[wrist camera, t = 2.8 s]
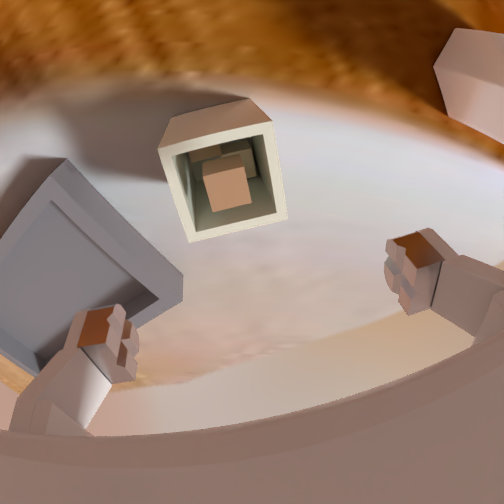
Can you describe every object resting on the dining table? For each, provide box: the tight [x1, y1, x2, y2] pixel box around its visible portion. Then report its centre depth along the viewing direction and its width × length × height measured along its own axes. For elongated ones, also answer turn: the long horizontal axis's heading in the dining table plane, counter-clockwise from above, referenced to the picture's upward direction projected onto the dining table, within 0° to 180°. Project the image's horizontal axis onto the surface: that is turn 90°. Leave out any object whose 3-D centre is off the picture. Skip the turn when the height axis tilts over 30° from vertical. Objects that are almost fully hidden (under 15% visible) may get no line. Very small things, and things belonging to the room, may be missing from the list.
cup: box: [157, 98, 288, 243], centre depth 17 cm, size 5×5×8 cm
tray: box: [0, 159, 183, 377], centre depth 23 cm, size 13×22×3 cm, turn 122°
